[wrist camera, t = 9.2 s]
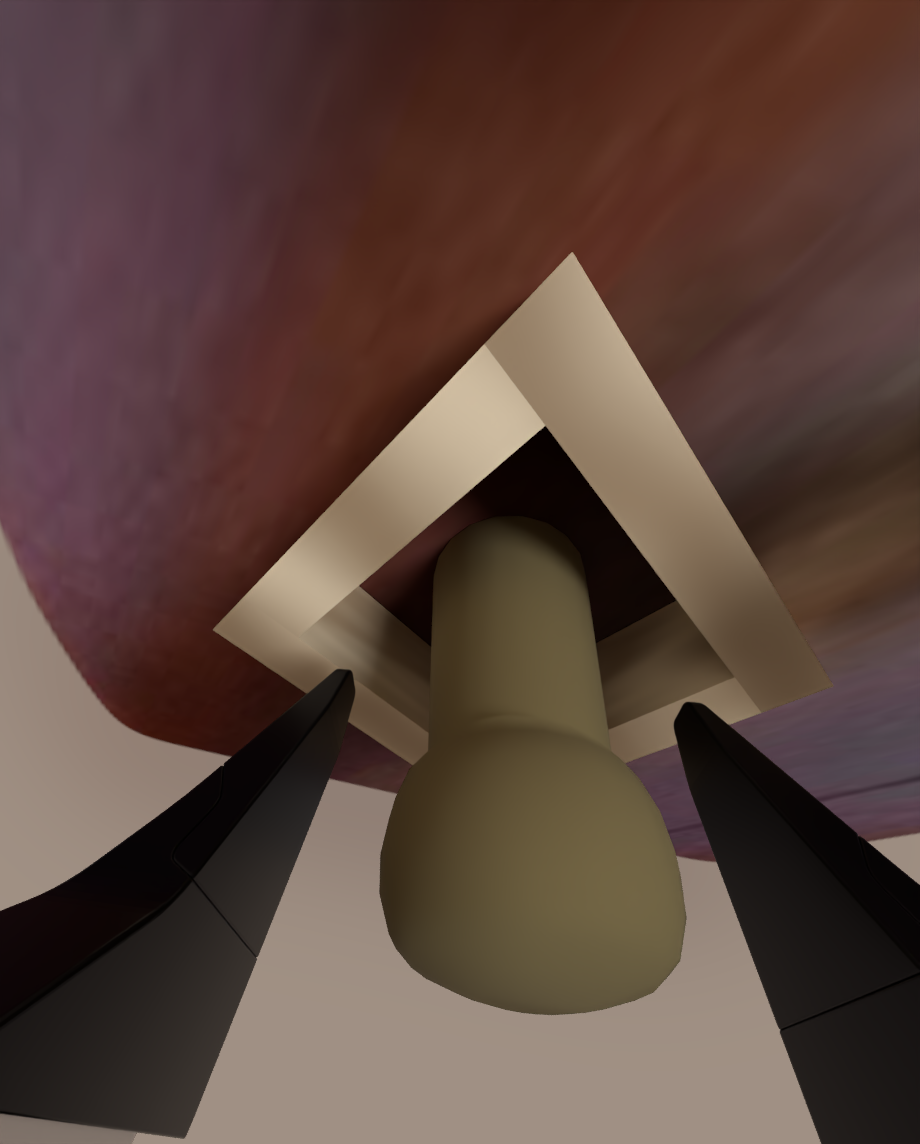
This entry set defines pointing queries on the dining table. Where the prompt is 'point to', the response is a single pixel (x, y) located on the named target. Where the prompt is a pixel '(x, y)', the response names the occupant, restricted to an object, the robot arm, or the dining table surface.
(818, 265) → the dining table surface
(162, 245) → the dining table surface
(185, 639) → the dining table surface
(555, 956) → the olive round-headed peg
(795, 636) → the socket block
